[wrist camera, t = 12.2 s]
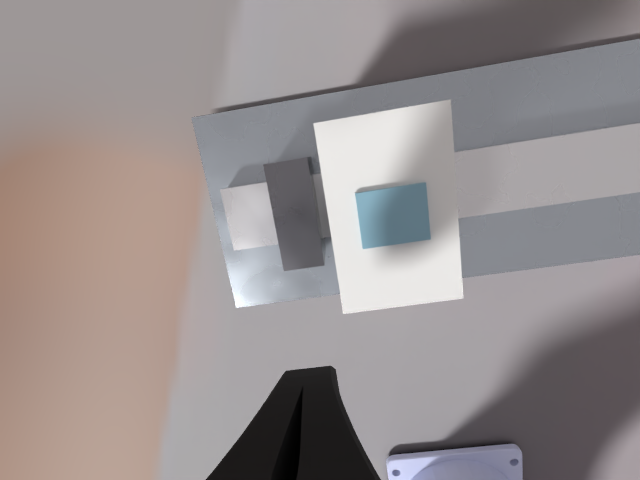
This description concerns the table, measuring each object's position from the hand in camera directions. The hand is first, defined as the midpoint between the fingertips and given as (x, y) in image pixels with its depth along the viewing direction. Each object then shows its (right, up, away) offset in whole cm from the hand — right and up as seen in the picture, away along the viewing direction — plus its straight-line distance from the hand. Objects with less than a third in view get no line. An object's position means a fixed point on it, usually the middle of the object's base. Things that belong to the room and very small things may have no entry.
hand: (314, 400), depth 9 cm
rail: (+8, +7, +8) cm, 13 cm away
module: (+3, +6, +8) cm, 10 cm away
